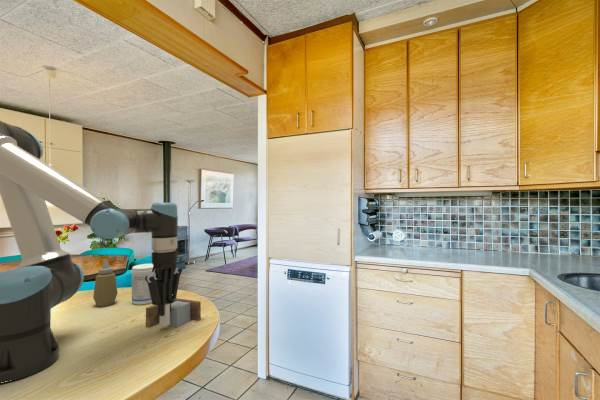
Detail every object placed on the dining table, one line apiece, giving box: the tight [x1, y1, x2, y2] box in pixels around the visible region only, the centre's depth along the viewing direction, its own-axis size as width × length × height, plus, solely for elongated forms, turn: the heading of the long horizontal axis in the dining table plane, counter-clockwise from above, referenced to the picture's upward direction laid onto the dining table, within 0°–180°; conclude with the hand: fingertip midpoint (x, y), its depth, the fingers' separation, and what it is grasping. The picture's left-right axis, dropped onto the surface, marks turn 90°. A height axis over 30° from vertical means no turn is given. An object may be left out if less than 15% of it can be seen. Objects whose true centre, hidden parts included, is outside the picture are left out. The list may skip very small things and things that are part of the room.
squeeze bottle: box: [93, 258, 118, 307], centre depth 113 cm, size 8×8×18 cm
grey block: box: [166, 301, 191, 328], centre depth 94 cm, size 6×6×6 cm
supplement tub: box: [131, 263, 153, 306], centre depth 116 cm, size 10×10×15 cm
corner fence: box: [145, 297, 202, 328], centre depth 94 cm, size 11×13×6 cm
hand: (164, 324), depth 89 cm, fingers closed
